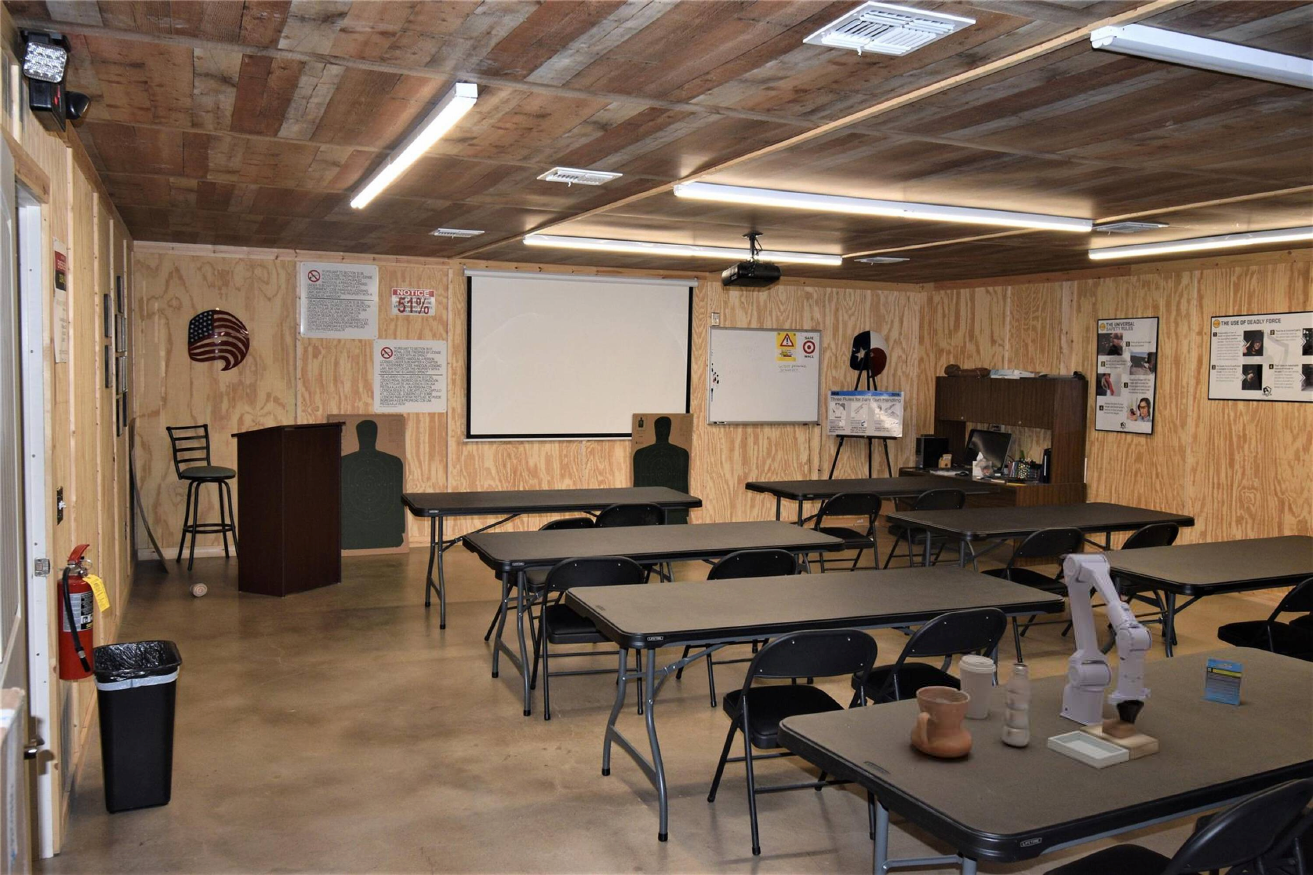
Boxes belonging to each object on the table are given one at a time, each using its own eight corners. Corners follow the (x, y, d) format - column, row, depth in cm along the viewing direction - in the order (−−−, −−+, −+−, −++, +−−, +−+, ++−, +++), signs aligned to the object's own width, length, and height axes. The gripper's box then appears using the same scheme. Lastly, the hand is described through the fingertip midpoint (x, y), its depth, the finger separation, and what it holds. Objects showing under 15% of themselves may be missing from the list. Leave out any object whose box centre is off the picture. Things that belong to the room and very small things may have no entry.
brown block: (1101, 732, 247) (1102, 720, 246) (1114, 729, 249) (1115, 717, 249) (1120, 739, 242) (1121, 727, 242) (1132, 736, 245) (1133, 724, 245)
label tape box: (1239, 702, 283) (1243, 660, 282) (1239, 706, 280) (1242, 663, 279) (1204, 695, 288) (1208, 654, 287) (1203, 699, 284) (1207, 657, 283)
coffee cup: (953, 717, 262) (957, 661, 261) (957, 706, 271) (960, 652, 270) (991, 723, 258) (995, 667, 257) (994, 711, 267) (997, 657, 266)
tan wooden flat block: (1079, 739, 250) (1080, 727, 249) (1106, 732, 255) (1107, 720, 255) (1130, 759, 238) (1131, 747, 237) (1157, 751, 243) (1158, 739, 243)
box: (1047, 747, 243) (1047, 737, 243) (1077, 739, 249) (1078, 730, 249) (1097, 768, 231) (1098, 758, 231) (1128, 760, 237) (1129, 750, 237)
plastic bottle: (1028, 741, 247) (1033, 663, 245) (1029, 751, 240) (1034, 670, 239) (1000, 737, 249) (1006, 659, 247) (1000, 746, 243) (1006, 667, 241)
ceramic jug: (936, 733, 250) (938, 678, 248) (987, 752, 238) (989, 694, 237) (891, 751, 238) (893, 693, 237) (942, 771, 227) (945, 711, 226)
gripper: (1127, 683, 239) (1123, 738, 241) (1163, 675, 247) (1159, 728, 248) (1101, 675, 245) (1097, 728, 247) (1137, 667, 253) (1133, 719, 254)
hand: (1126, 728), depth 248 cm, fingers closed
